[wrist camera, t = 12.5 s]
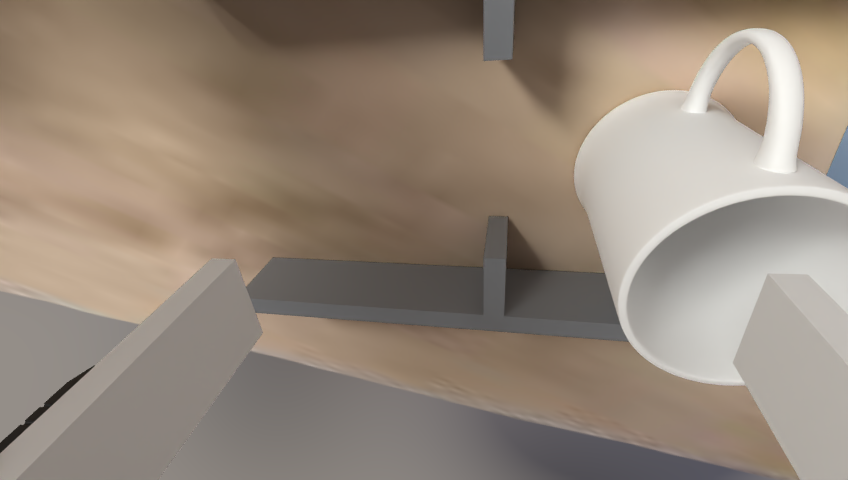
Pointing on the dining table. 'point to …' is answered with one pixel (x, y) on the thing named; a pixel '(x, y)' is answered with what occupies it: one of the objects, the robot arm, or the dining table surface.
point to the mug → (708, 212)
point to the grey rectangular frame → (447, 275)
